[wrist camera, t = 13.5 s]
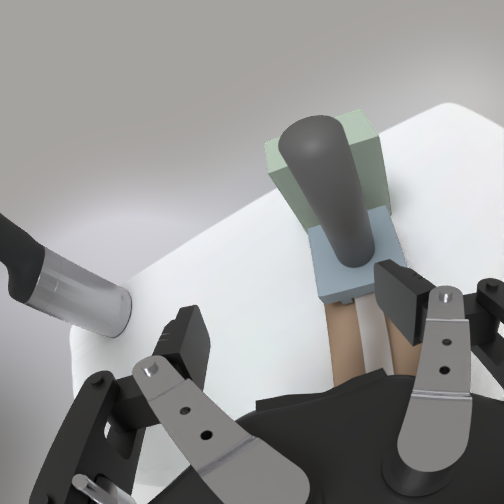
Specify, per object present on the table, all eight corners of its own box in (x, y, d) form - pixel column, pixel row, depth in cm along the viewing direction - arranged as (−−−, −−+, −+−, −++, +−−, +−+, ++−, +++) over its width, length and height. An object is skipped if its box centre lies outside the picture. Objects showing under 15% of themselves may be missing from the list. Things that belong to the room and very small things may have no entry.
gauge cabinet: (311, 244, 32) (268, 179, 23) (305, 210, 35) (264, 142, 25) (393, 220, 28) (381, 141, 19) (379, 186, 31) (361, 108, 21)
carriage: (328, 308, 26) (242, 213, 13) (317, 246, 29) (240, 128, 16) (407, 287, 23) (410, 158, 10) (388, 225, 26) (358, 84, 13)
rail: (338, 419, 22) (332, 423, 20) (315, 240, 32) (307, 227, 30) (429, 400, 18) (434, 402, 16) (388, 218, 29) (386, 203, 26)
